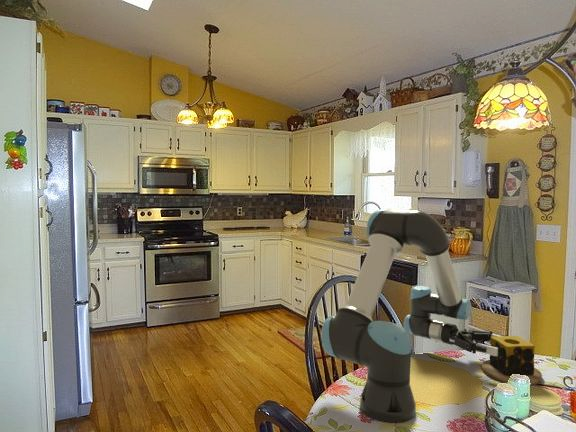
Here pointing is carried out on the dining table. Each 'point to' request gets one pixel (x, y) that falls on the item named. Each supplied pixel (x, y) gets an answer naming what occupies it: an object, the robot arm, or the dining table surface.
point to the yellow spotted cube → (513, 355)
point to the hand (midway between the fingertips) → (504, 347)
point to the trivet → (499, 376)
